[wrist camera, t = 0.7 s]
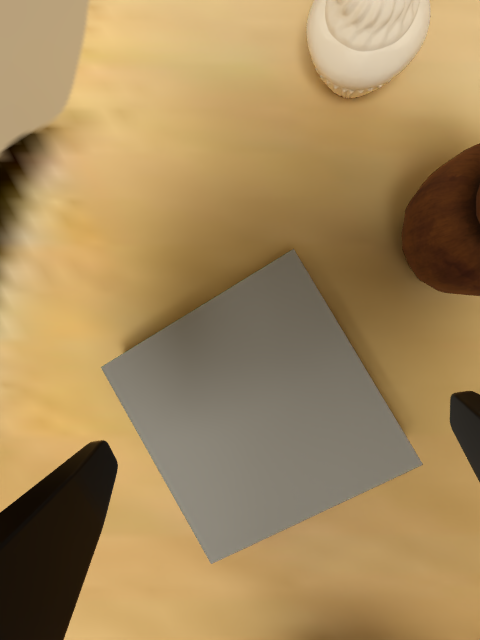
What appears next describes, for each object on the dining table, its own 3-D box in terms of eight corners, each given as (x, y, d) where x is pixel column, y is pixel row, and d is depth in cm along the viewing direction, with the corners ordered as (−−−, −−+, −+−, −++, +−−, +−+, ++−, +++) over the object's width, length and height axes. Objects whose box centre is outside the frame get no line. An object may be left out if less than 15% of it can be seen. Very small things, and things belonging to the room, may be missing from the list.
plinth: (403, 442, 21) (422, 464, 18) (221, 531, 23) (211, 564, 20) (292, 256, 22) (293, 248, 19) (124, 359, 24) (100, 367, 21)
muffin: (292, 113, 21) (294, 19, 14) (317, 16, 21) (331, -130, 14) (389, 130, 20) (441, 39, 13) (417, 29, 20) (485, -118, 13)
